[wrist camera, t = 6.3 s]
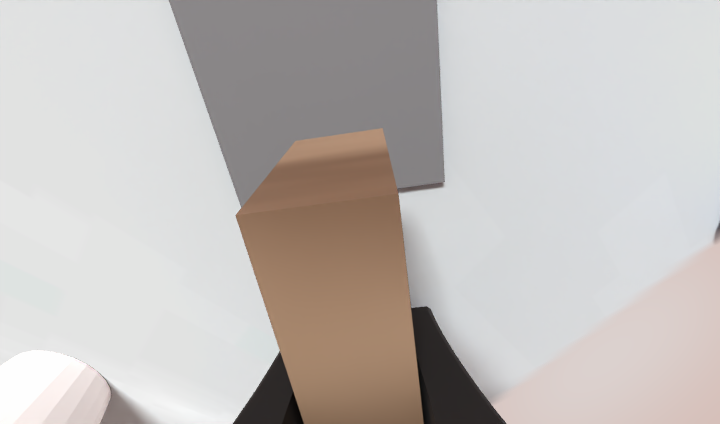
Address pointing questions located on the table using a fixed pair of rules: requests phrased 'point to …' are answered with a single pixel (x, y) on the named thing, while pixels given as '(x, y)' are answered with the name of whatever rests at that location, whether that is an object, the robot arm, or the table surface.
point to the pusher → (337, 279)
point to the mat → (317, 79)
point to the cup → (51, 390)
